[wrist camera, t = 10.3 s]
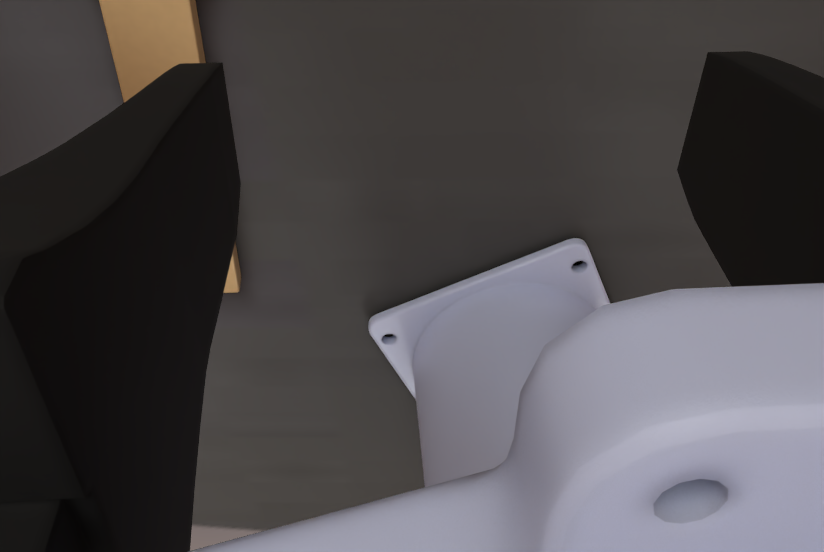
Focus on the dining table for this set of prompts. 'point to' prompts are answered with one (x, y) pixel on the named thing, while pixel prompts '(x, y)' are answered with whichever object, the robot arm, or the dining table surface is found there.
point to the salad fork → (156, 54)
